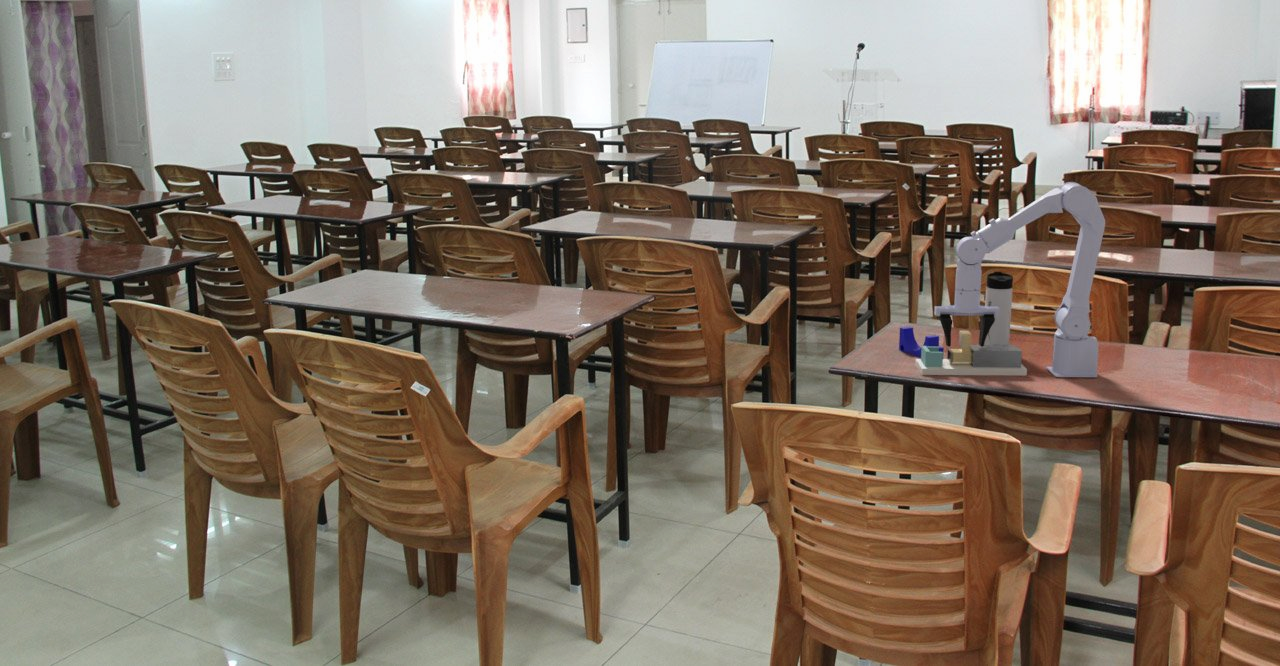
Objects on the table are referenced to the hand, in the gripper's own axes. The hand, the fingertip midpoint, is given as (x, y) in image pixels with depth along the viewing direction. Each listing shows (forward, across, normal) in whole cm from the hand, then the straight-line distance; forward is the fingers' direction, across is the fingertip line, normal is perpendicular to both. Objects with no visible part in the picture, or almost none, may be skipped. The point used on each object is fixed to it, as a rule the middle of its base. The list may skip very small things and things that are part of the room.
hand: (964, 345), depth 263 cm
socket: (+5, +8, 0) cm, 9 cm away
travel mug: (+6, -12, -18) cm, 22 cm away
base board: (+6, -2, 0) cm, 6 cm away
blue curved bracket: (+6, +7, -15) cm, 18 cm away
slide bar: (+4, -4, 0) cm, 5 cm away
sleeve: (+5, -7, 0) cm, 8 cm away
